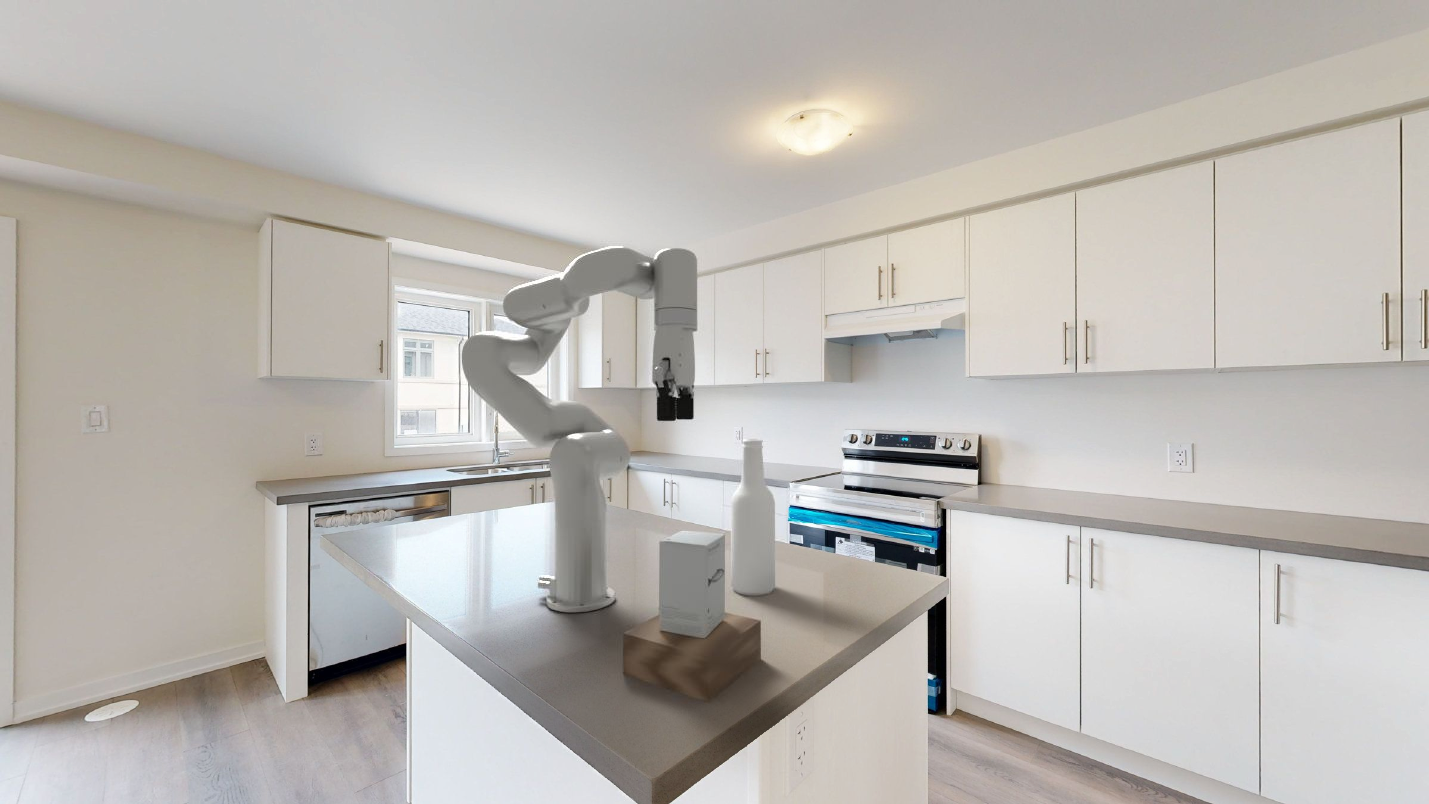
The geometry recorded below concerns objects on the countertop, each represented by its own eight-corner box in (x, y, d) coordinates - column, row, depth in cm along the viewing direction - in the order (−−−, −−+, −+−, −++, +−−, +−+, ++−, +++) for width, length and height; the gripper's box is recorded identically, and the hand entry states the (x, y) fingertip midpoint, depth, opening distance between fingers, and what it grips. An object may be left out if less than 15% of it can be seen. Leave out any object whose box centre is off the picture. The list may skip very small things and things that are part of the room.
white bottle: (746, 579, 118) (745, 437, 118) (783, 587, 113) (782, 439, 113) (722, 591, 111) (722, 439, 111) (761, 599, 106) (760, 441, 106)
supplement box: (706, 640, 74) (706, 545, 74) (657, 631, 77) (657, 540, 77) (726, 620, 81) (726, 533, 81) (680, 612, 84) (680, 528, 84)
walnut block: (623, 676, 77) (623, 633, 77) (682, 640, 89) (682, 602, 89) (708, 705, 69) (708, 657, 69) (760, 661, 81) (760, 620, 81)
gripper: (672, 329, 107) (672, 418, 107) (636, 315, 90) (636, 421, 90) (709, 327, 105) (710, 419, 105) (680, 313, 88) (680, 421, 88)
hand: (676, 420), depth 97 cm, fingers open, 9 cm apart
